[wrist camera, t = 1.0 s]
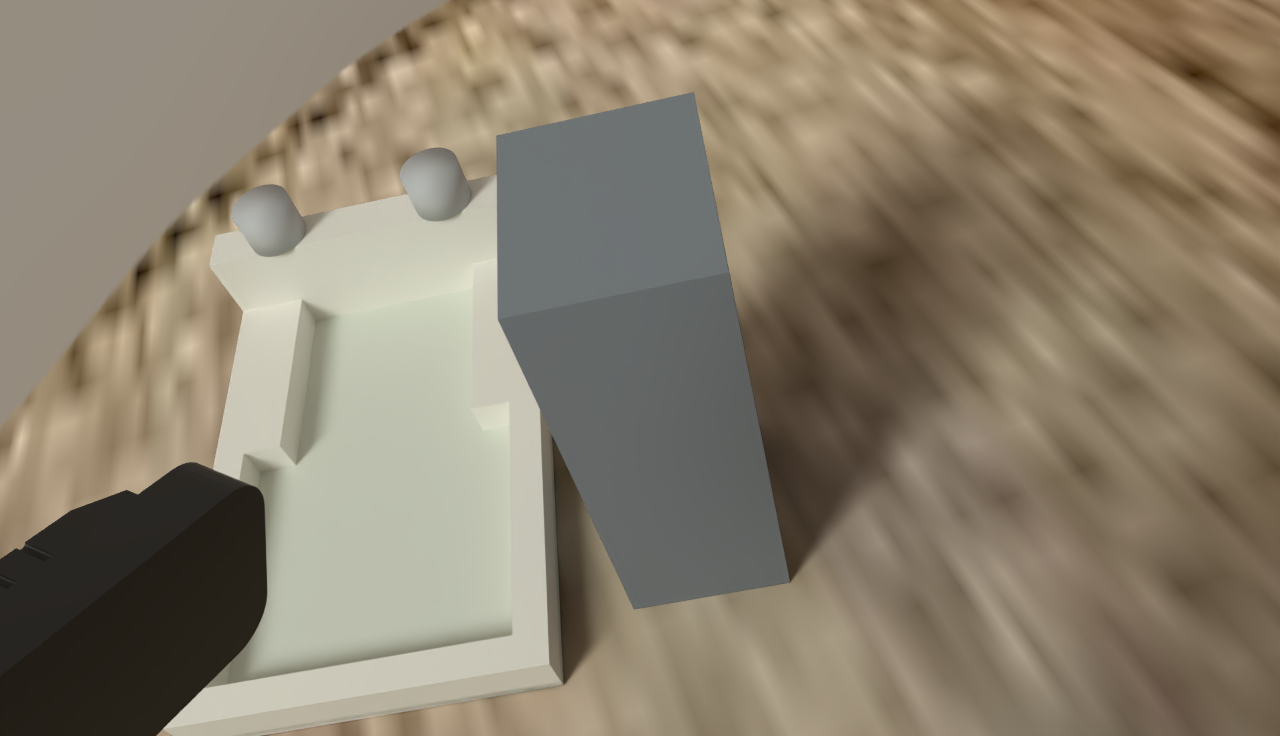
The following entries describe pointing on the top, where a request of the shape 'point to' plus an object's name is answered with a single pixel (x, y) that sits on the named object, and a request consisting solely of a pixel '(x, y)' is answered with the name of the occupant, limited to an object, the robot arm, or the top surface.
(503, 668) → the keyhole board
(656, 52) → the top surface
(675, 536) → the tall grey pillar
